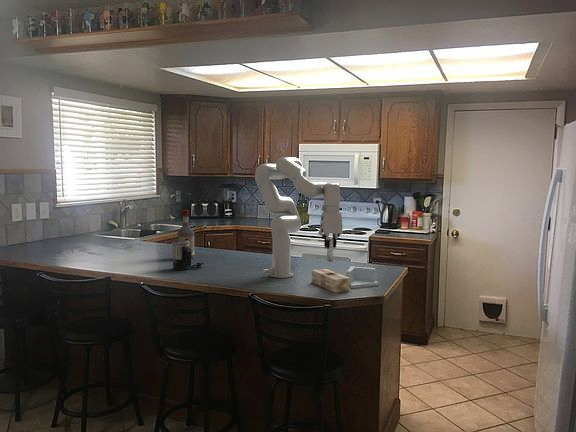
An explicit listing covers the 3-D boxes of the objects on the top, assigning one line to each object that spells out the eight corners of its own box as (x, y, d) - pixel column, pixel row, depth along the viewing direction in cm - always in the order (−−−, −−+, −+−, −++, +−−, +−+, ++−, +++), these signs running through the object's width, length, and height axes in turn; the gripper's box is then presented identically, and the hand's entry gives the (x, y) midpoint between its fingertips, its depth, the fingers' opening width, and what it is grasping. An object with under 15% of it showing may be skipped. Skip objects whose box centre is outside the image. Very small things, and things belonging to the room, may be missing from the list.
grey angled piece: (350, 288, 225) (351, 273, 224) (336, 282, 236) (336, 267, 236) (380, 285, 232) (380, 270, 231) (365, 279, 244) (365, 265, 243)
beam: (334, 292, 217) (335, 279, 217) (312, 282, 237) (312, 270, 237) (349, 290, 221) (349, 278, 220) (326, 280, 241) (326, 268, 240)
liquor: (177, 258, 297) (176, 209, 294) (191, 257, 301) (191, 209, 298) (180, 260, 289) (179, 211, 286) (195, 259, 292) (194, 210, 289)
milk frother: (168, 269, 263) (168, 243, 261) (187, 264, 276) (187, 239, 275) (188, 272, 256) (188, 245, 254) (207, 267, 270) (206, 241, 268)
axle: (328, 262, 226) (329, 239, 225) (325, 260, 229) (326, 238, 228) (334, 261, 227) (334, 238, 226) (331, 260, 230) (331, 237, 229)
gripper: (320, 210, 219) (319, 250, 221) (350, 209, 225) (349, 248, 228) (312, 208, 225) (311, 247, 227) (342, 208, 232) (340, 245, 234)
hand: (330, 247), depth 227 cm, fingers closed on axle, 3 cm apart
